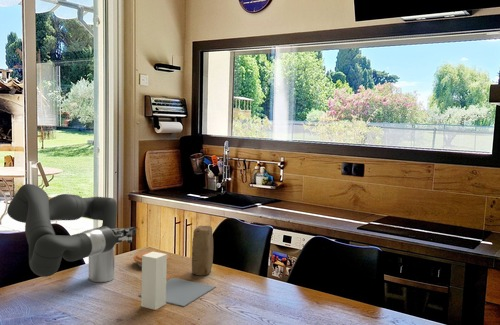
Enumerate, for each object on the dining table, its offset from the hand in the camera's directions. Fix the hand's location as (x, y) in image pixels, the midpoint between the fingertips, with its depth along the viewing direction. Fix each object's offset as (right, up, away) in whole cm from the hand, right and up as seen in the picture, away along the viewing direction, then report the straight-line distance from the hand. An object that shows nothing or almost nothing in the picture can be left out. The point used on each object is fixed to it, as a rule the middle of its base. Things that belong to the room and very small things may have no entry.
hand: (134, 230), depth 148 cm
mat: (+10, -27, +26) cm, 39 cm away
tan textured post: (+17, -26, +49) cm, 58 cm away
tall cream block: (+4, -28, +12) cm, 31 cm away
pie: (-7, -24, +57) cm, 62 cm away
